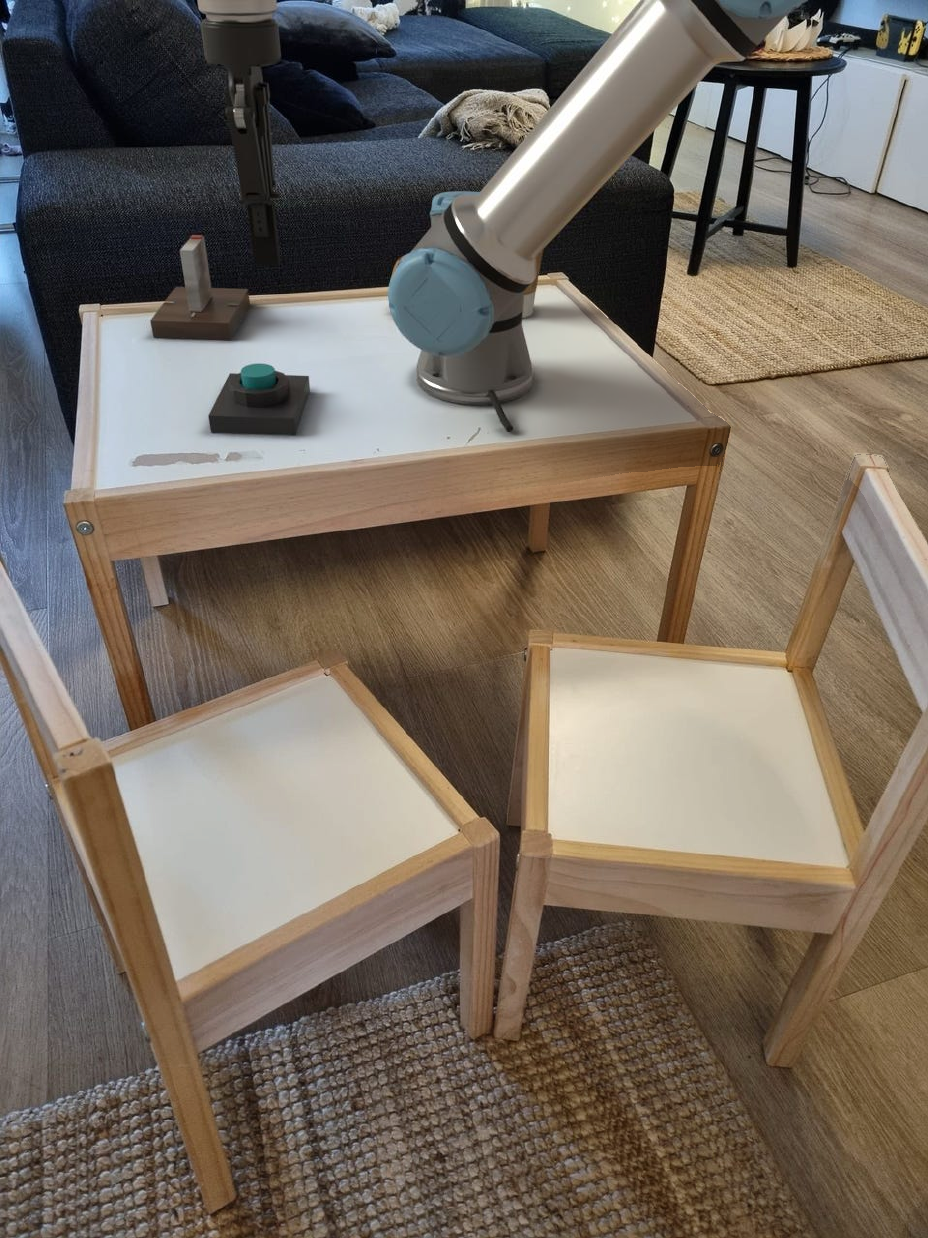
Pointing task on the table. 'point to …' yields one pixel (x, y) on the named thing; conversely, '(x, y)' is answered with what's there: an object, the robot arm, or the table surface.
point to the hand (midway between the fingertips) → (267, 262)
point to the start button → (258, 376)
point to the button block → (260, 406)
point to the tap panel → (201, 315)
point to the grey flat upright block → (196, 273)
